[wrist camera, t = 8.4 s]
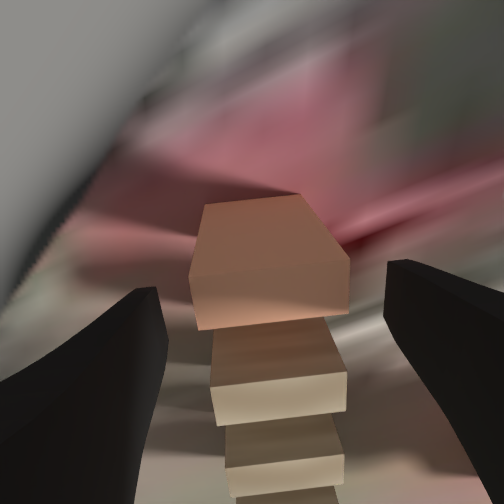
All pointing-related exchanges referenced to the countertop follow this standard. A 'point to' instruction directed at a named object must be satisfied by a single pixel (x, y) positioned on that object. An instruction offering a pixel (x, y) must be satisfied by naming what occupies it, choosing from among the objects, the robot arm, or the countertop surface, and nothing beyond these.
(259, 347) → the domino
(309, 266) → the domino
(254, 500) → the domino
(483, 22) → the countertop surface
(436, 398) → the robot arm
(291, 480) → the domino
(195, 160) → the countertop surface
